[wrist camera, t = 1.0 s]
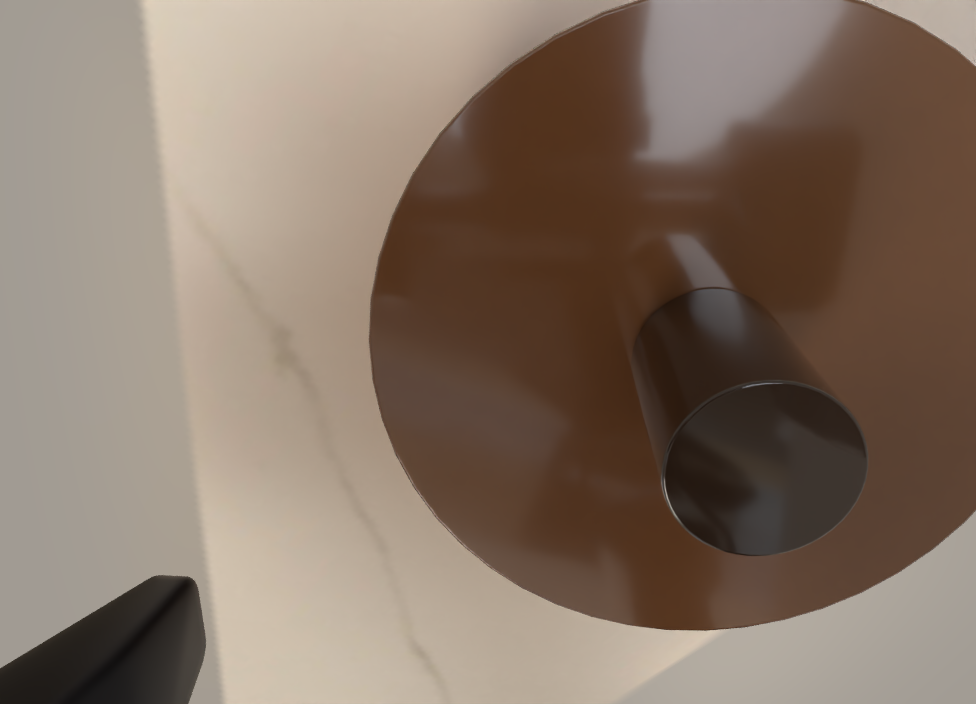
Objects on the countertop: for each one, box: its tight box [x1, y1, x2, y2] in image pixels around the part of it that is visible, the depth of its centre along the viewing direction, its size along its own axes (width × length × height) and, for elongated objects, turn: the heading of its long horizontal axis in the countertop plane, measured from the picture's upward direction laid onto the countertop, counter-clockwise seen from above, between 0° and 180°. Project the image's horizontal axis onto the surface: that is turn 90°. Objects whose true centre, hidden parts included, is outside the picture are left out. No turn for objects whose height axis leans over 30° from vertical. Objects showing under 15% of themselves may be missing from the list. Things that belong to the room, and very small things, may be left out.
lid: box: [369, 0, 976, 631], centre depth 12 cm, size 12×12×5 cm
